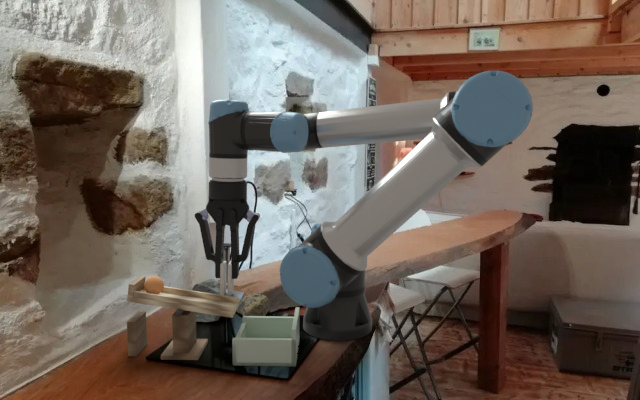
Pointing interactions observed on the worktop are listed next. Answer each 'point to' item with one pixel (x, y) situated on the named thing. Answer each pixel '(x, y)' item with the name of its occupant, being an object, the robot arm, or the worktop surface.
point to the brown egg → (154, 285)
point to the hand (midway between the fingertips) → (226, 293)
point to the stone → (207, 287)
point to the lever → (185, 299)
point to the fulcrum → (179, 347)
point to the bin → (267, 341)
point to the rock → (254, 305)
